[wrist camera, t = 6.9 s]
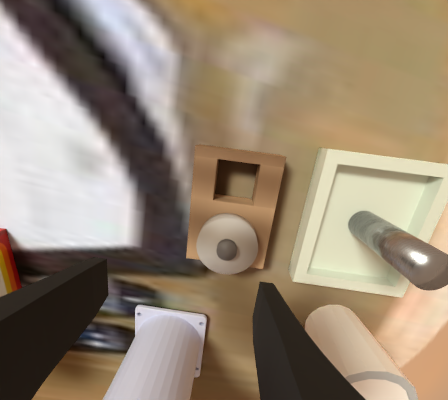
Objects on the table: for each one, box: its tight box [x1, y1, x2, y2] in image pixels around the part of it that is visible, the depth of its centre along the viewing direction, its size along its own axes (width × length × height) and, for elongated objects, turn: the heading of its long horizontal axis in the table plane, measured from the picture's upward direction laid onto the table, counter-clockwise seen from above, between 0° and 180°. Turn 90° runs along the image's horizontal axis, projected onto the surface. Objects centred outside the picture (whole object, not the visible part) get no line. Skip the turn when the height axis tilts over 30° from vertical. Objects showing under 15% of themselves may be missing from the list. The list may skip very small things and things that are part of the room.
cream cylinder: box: [305, 305, 418, 400], centre depth 19 cm, size 7×7×7 cm
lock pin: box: [348, 211, 448, 290], centre depth 15 cm, size 2×2×7 cm
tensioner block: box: [186, 145, 286, 274], centre depth 17 cm, size 10×7×4 cm
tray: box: [288, 148, 448, 298], centre depth 18 cm, size 12×10×2 cm
